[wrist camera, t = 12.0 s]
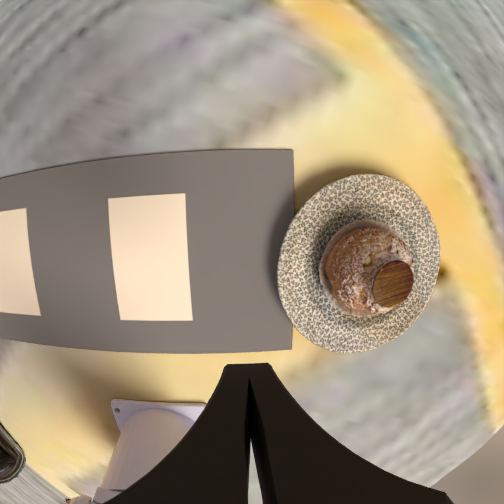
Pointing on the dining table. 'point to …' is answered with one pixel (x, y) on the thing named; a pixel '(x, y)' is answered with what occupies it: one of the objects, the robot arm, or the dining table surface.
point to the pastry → (358, 263)
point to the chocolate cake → (10, 458)
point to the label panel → (148, 253)
